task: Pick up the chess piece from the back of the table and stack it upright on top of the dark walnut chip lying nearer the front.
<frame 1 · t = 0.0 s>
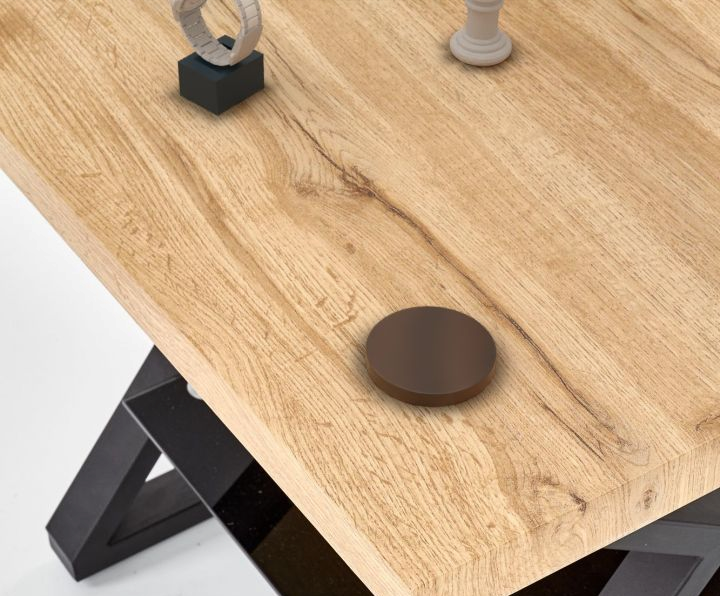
walnut chip: (430, 361, 109), on the table
watch: (221, 93, 130), on the table
chess piece: (479, 53, 135), on the table
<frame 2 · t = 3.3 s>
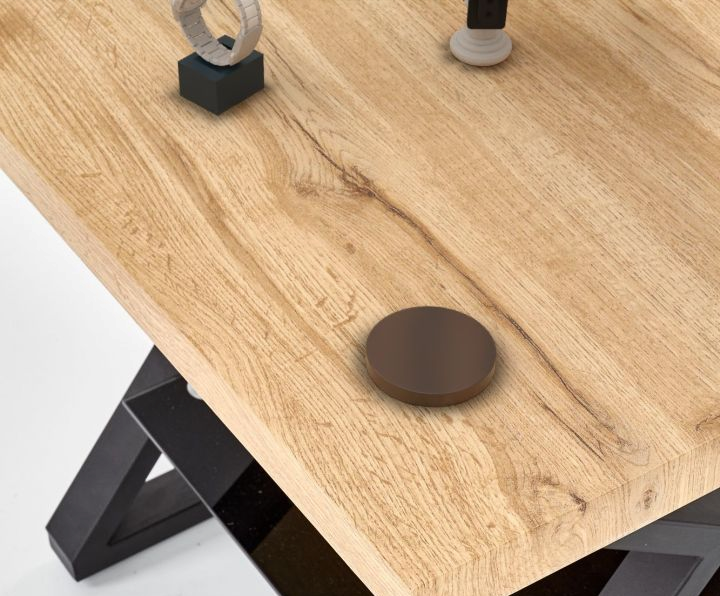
hand: (483, 12, 132), 4 cm above the table, tool pointing down, fingers closed on chess piece, 3 cm apart
chess piece: (479, 52, 135), on the table, touching gripper
everything else where it was.
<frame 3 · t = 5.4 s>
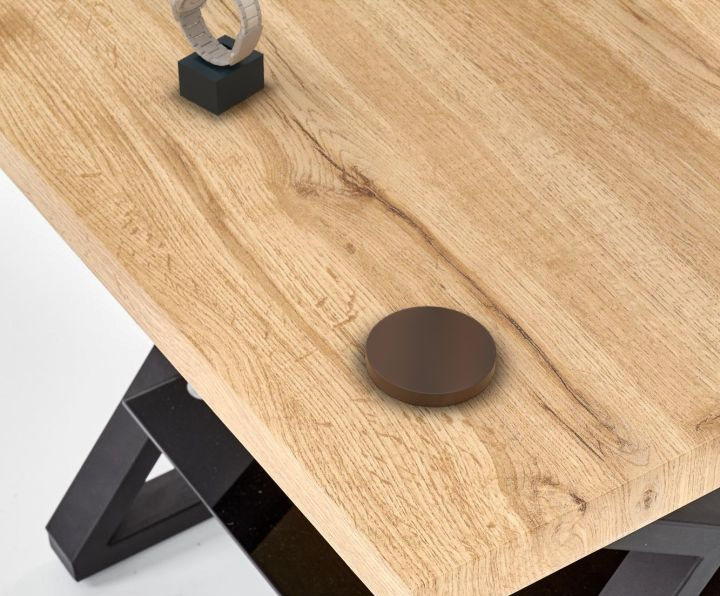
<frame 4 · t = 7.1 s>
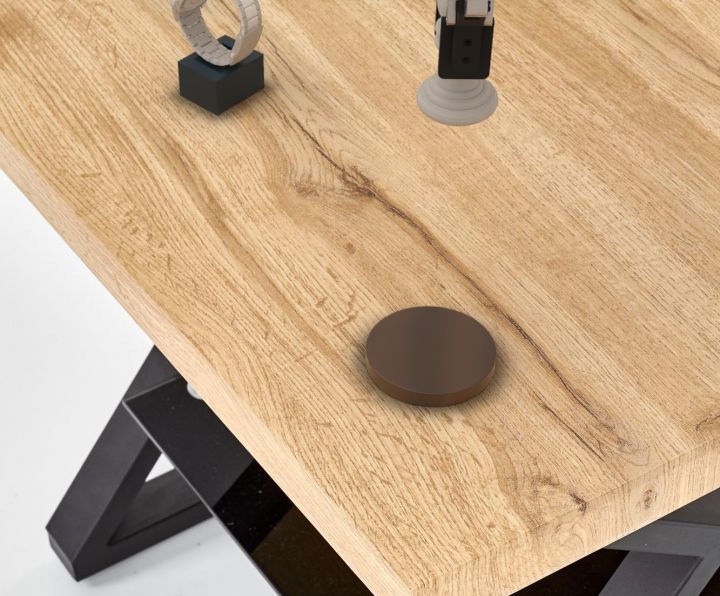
hand: (461, 55, 99), 19 cm above the table, tool pointing down, fingers closed on chess piece, 3 cm apart
chess piece: (456, 107, 102), point 15 cm above the table, touching gripper
everything else where it was.
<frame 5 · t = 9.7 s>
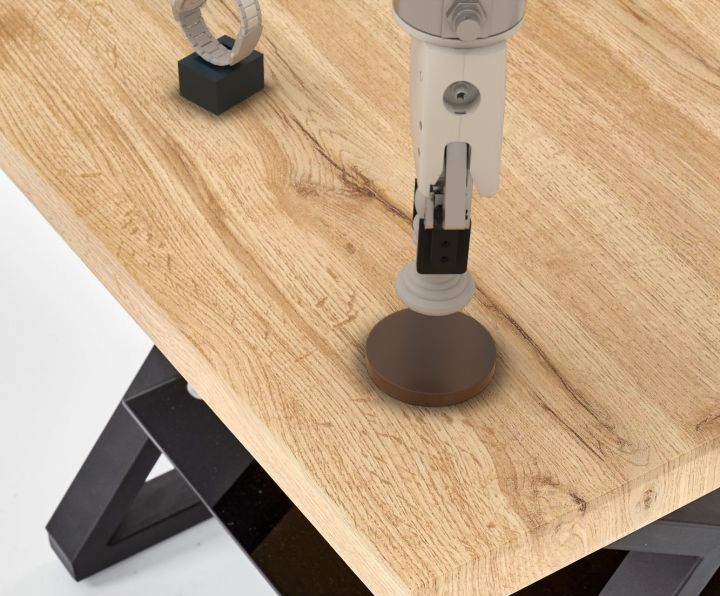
hand: (438, 248, 101), 10 cm above the table, tool pointing down, fingers closed on chess piece, 3 cm apart
chess piece: (434, 294, 104), point 6 cm above the table, touching gripper
everything else where it was.
when the fingers open (5 cm above the table, at t = 11.3 s): chess piece stays where it is, resting on walnut chip.
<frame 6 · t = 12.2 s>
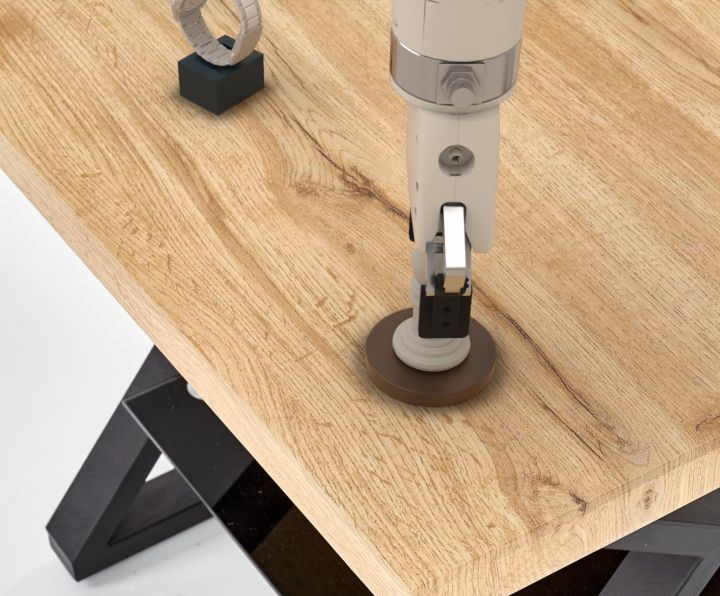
hand: (437, 285, 104), 7 cm above the table, tool pointing down, fingers open, 9 cm apart
walnut chip: (429, 361, 109), on the table, touching chess piece
chess piece: (430, 350, 108), point 1 cm above the table, touching walnut chip
everything else where it was.
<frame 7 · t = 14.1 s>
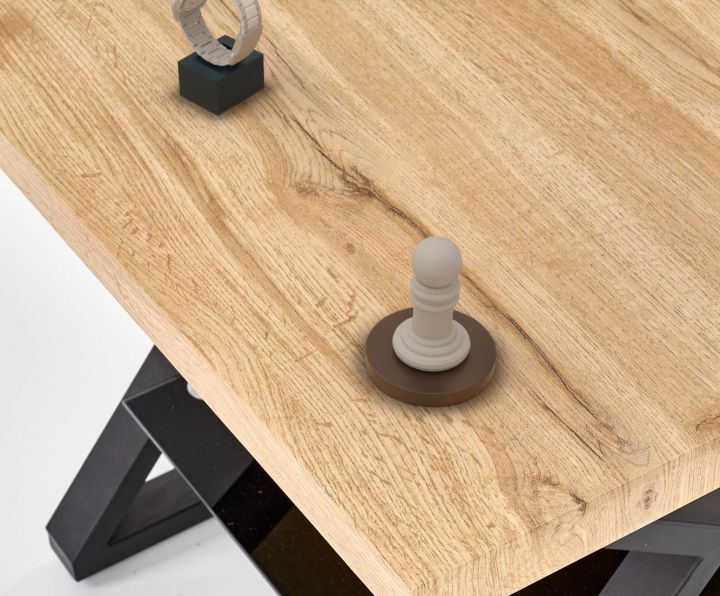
nothing on the table moved.
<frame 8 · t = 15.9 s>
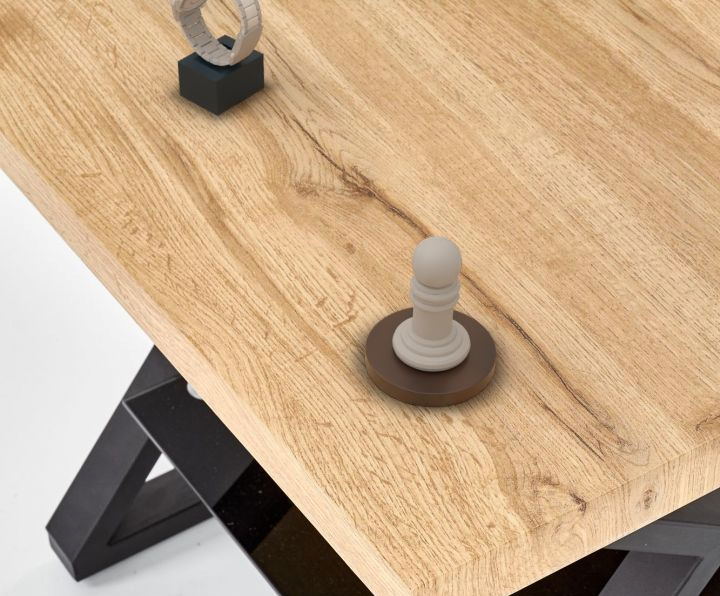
nothing on the table moved.
at the end: chess piece 0.0 cm off-centre on the walnut chip, point 1.0 cm above the walnut chip's base; chess piece tilted 0°; walnut chip moved 0.0 cm from its start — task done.
